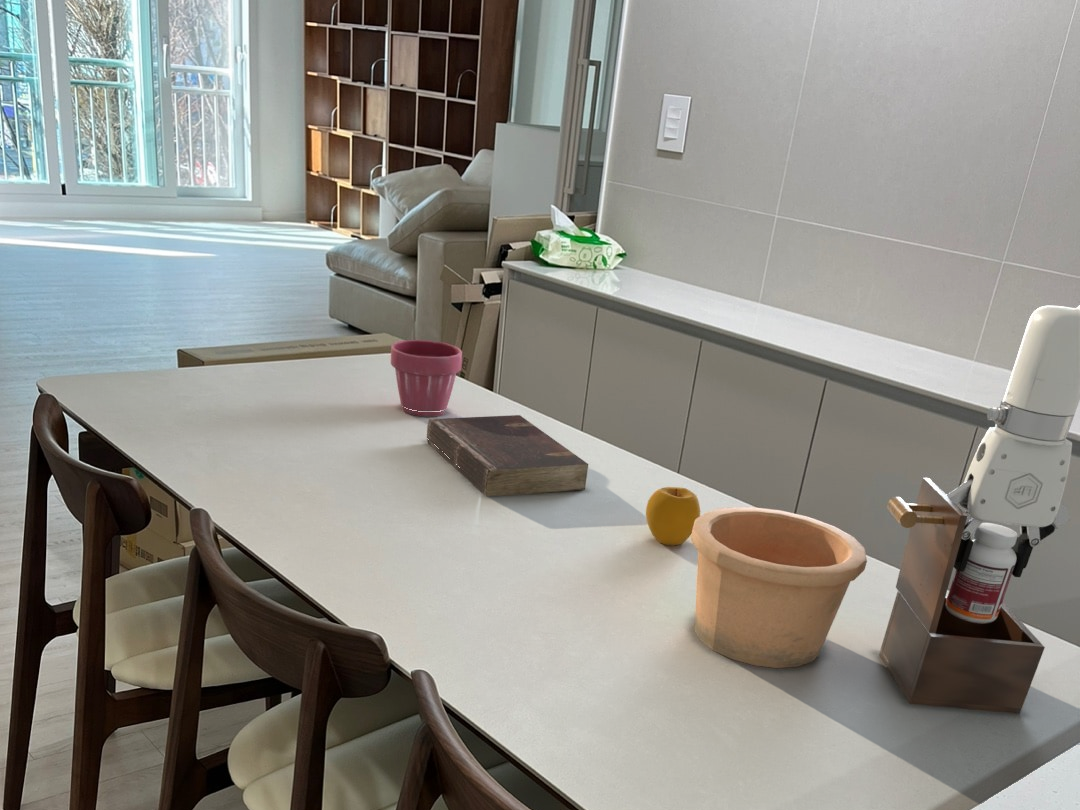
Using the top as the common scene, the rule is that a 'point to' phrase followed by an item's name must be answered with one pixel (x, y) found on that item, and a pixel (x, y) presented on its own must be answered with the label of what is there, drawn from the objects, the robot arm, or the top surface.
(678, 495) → the apple
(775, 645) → the pottery
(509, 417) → the hardback book
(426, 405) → the flower pot
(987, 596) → the pill bottle
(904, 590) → the lid
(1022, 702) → the chest
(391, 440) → the top surface
